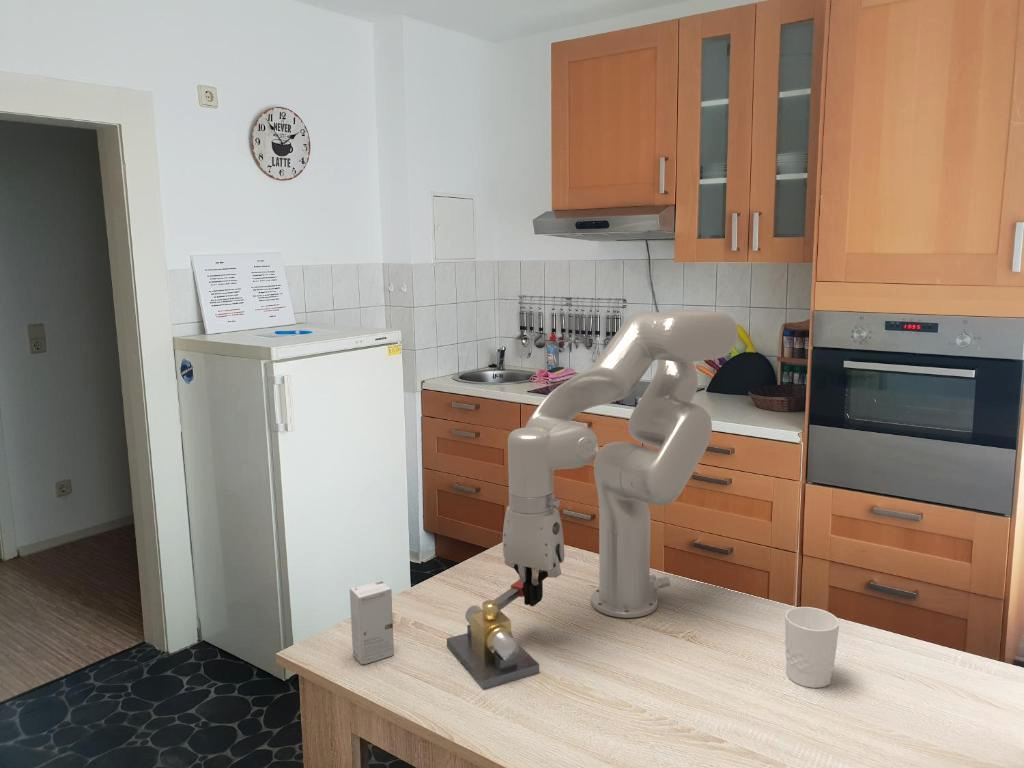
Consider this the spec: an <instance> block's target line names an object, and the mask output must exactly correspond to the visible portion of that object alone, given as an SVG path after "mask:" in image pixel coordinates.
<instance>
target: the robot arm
mask: <svg viewBox="0 0 1024 768" xmlns="http://www.w3.org/2000/svg"><path fill="white" fill-rule="evenodd" d="M738 340H739V328H738V325H737V322H736V320H735V319H734V318H733V317H732V316H730V315H729V314H728V313H725V312H721V311H710V310H697V309H683V308H675V309H668V310H666V311H663V312H660V311H659V312H657V311H638V312H635V313H632V314H631V315H630V316H629V317H628V318H627V319H626V320H625V321H624V322H623V323H622V325H621V326H620V327H619V328H618V330H617V331H616V332H615V334H614V336H613V337H612V338H611V340H610V341H609V342H608V344H607V345H606V346H605V348H604V349H603V350H602V352H601V353H600V354H599V356H598V357H597V358H596V360H595V361H594V362H593V363H592V364H591V366H590V367H588V368H587V369H586V370H583V371H582V372H580V373H578V374H576V375H574V376H573V377H571V378H570V379H568V380H566V381H565V382H563V383H561V384H560V385H558V386H556V387H555V388H554V389H553V390H552V391H551V392H549V393H548V394H547V395H546V396H545V397H544V398H543V400H542V401H541V402H540V403H539V404H538V406H537V408H536V409H535V410H534V412H533V413H532V415H530V417H529V419H528V421H527V422H526V424H525V427H520V428H516V429H514V430H512V431H511V432H510V433H509V435H508V436H507V437H508V438H507V460H508V461H507V463H508V464H507V465H508V466H507V467H508V469H507V470H508V472H507V473H508V506H507V507H506V509H505V513H504V514H505V515H504V521H503V529H502V554H503V558H504V564H505V565H506V566H508V567H509V568H512V569H514V570H515V572H516V574H517V575H518V576H519V579H520V581H521V582H523V601H524V602H523V604H524V605H525V606H529V607H535V606H536V605H538V604H539V603H541V601H542V599H543V595H544V594H543V589H544V587H543V581H544V580H545V579H546V578H558V577H559V576H561V575H562V569H561V565H560V564H563V562H564V561H565V540H564V533H563V525H562V520H561V516H560V512H559V509H558V508H559V507H560V505H561V501H560V499H556V498H555V492H554V471H556V470H565V469H567V470H568V469H578V468H582V467H585V466H587V465H588V464H589V463H591V462H592V461H593V460H594V461H593V463H594V464H593V475H594V481H595V485H596V491H597V496H598V498H597V499H598V509H599V512H598V514H599V515H598V516H599V521H598V523H599V525H598V527H599V528H598V530H599V533H598V534H599V535H598V536H599V538H598V539H599V542H598V543H599V545H598V546H599V550H598V552H599V553H598V555H599V557H598V558H599V561H598V564H599V566H598V567H599V568H598V570H599V572H598V577H599V578H598V579H599V580H598V582H599V583H598V584H599V585H598V588H596V589H595V590H594V591H592V593H591V595H590V603H591V605H592V606H593V608H594V609H595V610H597V612H600V613H602V614H604V615H606V616H610V617H615V618H624V619H632V618H641V617H644V616H646V615H647V616H648V615H649V614H651V613H653V612H654V611H655V610H656V609H657V607H658V597H657V595H656V594H655V593H656V592H657V591H658V589H663V588H664V589H665V588H667V587H670V586H671V581H670V578H669V577H668V576H661V577H660V578H657V577H656V575H655V574H650V572H651V569H650V568H651V565H650V564H651V563H650V562H651V561H650V560H651V512H650V508H649V505H652V506H657V507H663V506H664V507H665V506H668V505H670V504H672V503H673V502H674V501H676V500H677V498H679V496H680V495H681V494H682V492H683V491H684V489H685V487H686V485H687V484H688V482H689V480H690V478H692V475H693V473H694V472H695V470H696V468H697V466H698V465H699V463H700V461H701V459H702V458H703V457H704V454H705V452H706V450H707V448H708V446H709V444H710V440H711V437H712V431H713V424H712V423H713V422H712V419H711V416H710V414H709V412H708V411H707V409H705V408H704V407H702V405H700V404H696V403H693V402H692V401H693V399H694V398H695V395H696V394H697V390H698V387H699V376H698V372H697V370H696V369H697V368H696V365H695V363H696V362H702V361H711V360H717V359H721V358H724V357H726V356H728V355H729V354H730V353H732V351H733V350H734V348H736V347H735V346H736V345H737V342H738ZM656 360H657V368H656V371H655V373H654V376H653V377H652V379H651V381H650V383H649V385H648V386H647V388H646V389H645V391H644V392H643V395H642V396H641V397H640V399H639V401H638V402H637V404H636V405H635V407H634V409H633V411H632V413H631V414H630V417H629V420H628V424H627V428H628V433H629V434H630V436H631V437H632V438H633V440H636V441H637V442H639V443H641V444H643V445H646V446H643V445H638V444H636V443H632V442H626V441H612V442H609V443H607V444H605V445H603V446H602V447H600V449H599V441H598V440H599V439H598V436H597V435H596V434H595V432H594V431H593V430H592V429H590V428H589V427H587V426H586V425H583V424H580V423H576V422H572V421H571V420H572V419H574V418H575V417H576V416H577V415H579V414H581V413H582V412H585V411H586V410H588V409H591V408H595V407H598V406H602V405H606V404H610V403H611V404H612V403H614V402H616V401H617V402H618V401H621V400H623V399H625V398H627V397H628V396H630V395H631V394H632V392H633V390H635V388H636V386H637V385H638V383H639V382H640V380H642V378H643V376H644V375H645V374H646V372H647V371H648V369H649V368H650V367H651V366H652V364H653V362H655V361H656ZM647 446H649V447H654V448H657V449H659V450H657V449H653V448H649V447H647ZM648 504H649V505H648Z"/></svg>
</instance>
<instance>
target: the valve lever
mask: <svg viewBox="0 0 1024 768" xmlns="http://www.w3.org/2000/svg"><path fill="white" fill-rule="evenodd" d="M518 598H524V596H523V582H521V581H520V578H519V579H518V580H517V581H515V582H513V583H512V584H510V588H509V589H507V590H506V591H505V592H503V593H502V594H499V596H497V597H496V598H495V599H489V600H485V601H483V602H482V607H481V609H482V610H483V617H484V618H485V619H495V618H497V617H498V612H499V611H501V610H502V609H504V608H505V607H507V606H508V605H509V604H511V603H513V601H515V600H516V599H518Z"/></svg>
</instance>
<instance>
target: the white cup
mask: <svg viewBox="0 0 1024 768" xmlns="http://www.w3.org/2000/svg"><path fill="white" fill-rule="evenodd" d="M839 628H840V621H839V619H838V617H837V616H835V614H833V613H831V612H829V611H827V610H824V609H821V608H818V607H817V608H816V607H810V606H798V607H793V608H790V609H789V610H787V611H786V612H785V630H784V631H785V632H784V633H785V635H784V636H785V637H784V638H785V641H784V643H785V659H786V661H785V662H786V663H785V665H786V666H785V668H786V669H785V672H786V675H787V677H788V679H790V680H791V681H792V682H793V683H795V684H798V685H799V686H802V687H805V688H813V689H817V688H818V689H819V688H820V689H821V688H825V687H827V686H829V685H830V684H831V683H832V679H833V673H834V672H833V671H834V667H835V663H836V662H835V661H836V655H837V654H836V653H837V647H838V646H837V645H838V638H839V637H838V636H839Z"/></svg>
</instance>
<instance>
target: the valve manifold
mask: <svg viewBox="0 0 1024 768" xmlns="http://www.w3.org/2000/svg"><path fill="white" fill-rule="evenodd" d="M464 618H465V620H466V622H468V624H467V626H466V627H467V628H466V629H467V633H462V634H458V635H455V636H451V637H448V638H446V647H447V649H448V650H449V651H450V652H451V653H452V654H453V655H454V657H455V658H456V659H457V660H458V661H459V662H460V664H461V665H462V666H463V667H464V668H465V669H466V670H465V671H467V672H468V673H469V674H470V676H471V677H472V678H473V679H474V680H475V682H476V683H477V684H478V685H479V686H480V687H481V689H482V690H483V691H484V690H487V689H491V688H493V687H497V686H501V685H503V684H507V683H511V682H513V681H517V680H520V679H523V678H526V677H530V676H534V675H537V674H539V673H540V663H539V662H537V660H536V659H534V658H533V657H532V656H531V655H530V654H529V653H528V651H526V650H525V648H523V647H522V646H521V645H520V644H519V643H518V642H517V641H516V640H515V639H514V636H513V633H512V620H511V619H510V618H509V617H508V616H506V614H504V613H503V612H502V611H501V610H500V611H499V612H498V617H497V618H495V619H485V618H484V617H483V608H482V607H480V606H479V605H472V606H470V607H469V608H468V609H467V610H466V611H465V617H464Z"/></svg>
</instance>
